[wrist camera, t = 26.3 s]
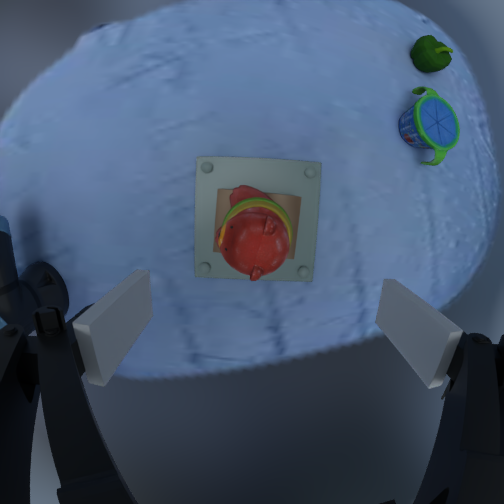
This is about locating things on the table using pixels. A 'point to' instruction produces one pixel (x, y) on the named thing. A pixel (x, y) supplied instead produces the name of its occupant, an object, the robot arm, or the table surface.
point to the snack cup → (430, 124)
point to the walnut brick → (285, 201)
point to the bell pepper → (430, 54)
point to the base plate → (266, 180)
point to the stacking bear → (254, 233)
